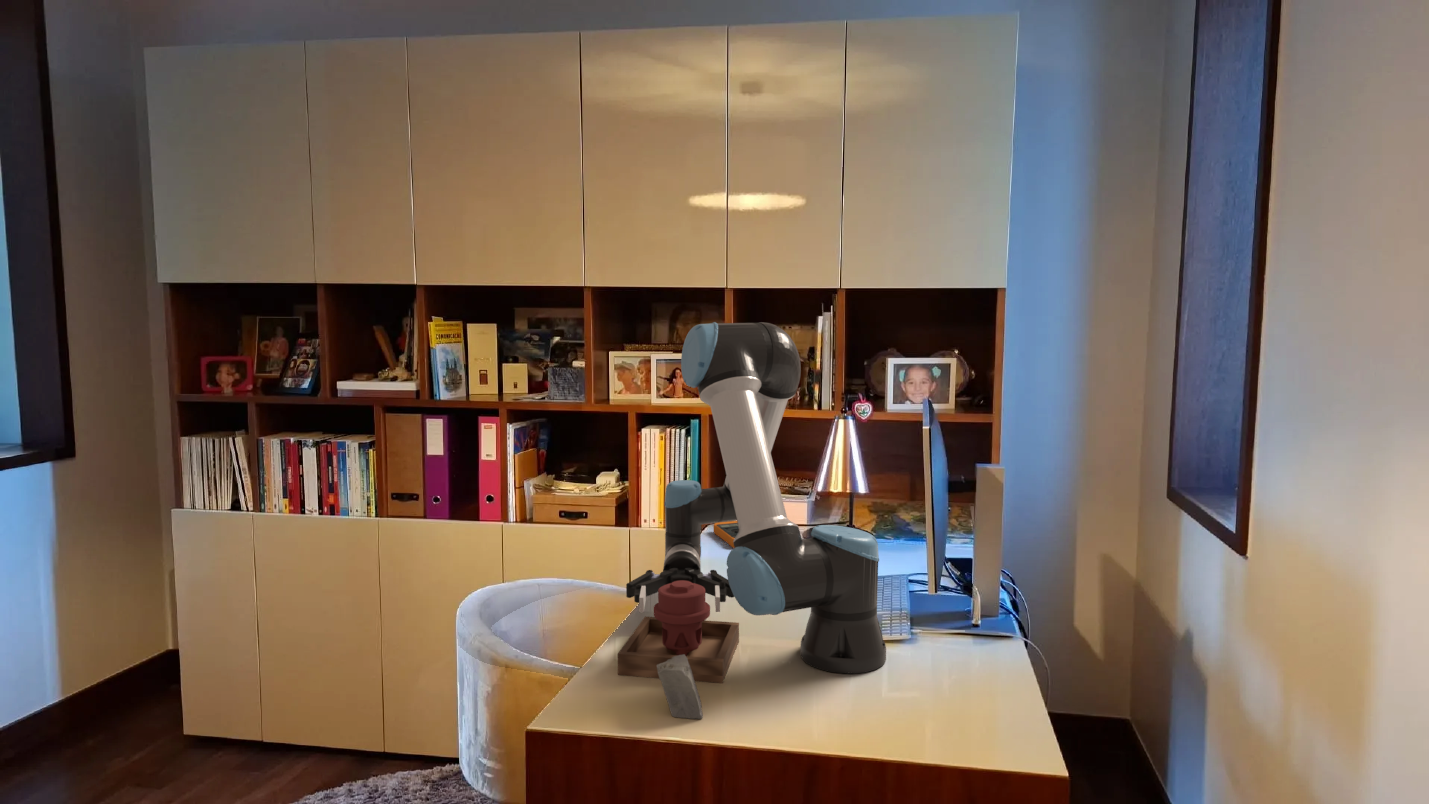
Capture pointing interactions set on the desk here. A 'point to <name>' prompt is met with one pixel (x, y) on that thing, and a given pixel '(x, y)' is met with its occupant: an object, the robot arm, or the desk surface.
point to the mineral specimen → (680, 688)
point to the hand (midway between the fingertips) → (679, 604)
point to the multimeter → (727, 531)
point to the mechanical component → (681, 615)
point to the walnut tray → (704, 661)
